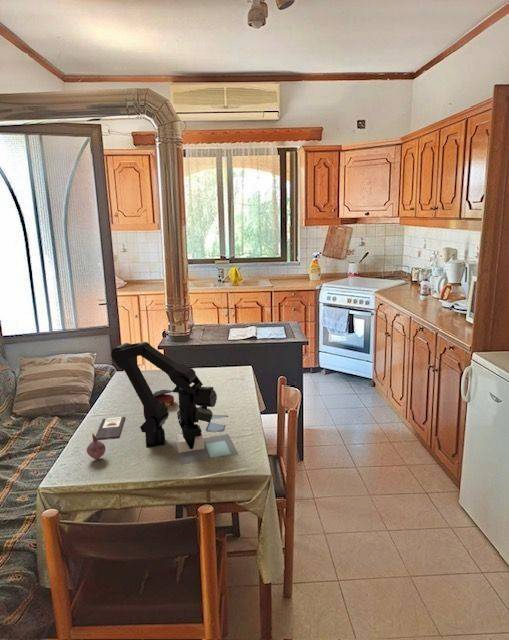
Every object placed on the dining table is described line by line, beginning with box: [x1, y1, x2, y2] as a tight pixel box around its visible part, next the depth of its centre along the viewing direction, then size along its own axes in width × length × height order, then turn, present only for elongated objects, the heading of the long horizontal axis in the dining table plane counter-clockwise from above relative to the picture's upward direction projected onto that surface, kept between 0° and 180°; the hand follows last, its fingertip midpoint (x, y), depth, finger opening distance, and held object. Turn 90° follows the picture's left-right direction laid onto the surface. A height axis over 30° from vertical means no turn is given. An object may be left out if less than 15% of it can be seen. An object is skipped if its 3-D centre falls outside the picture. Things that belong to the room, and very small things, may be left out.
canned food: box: [153, 389, 175, 409], centre depth 207 cm, size 11×10×10 cm
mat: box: [174, 433, 239, 465], centre depth 166 cm, size 20×16×1 cm
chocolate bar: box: [95, 416, 126, 440], centre depth 186 cm, size 9×1×18 cm
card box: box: [175, 432, 205, 453], centre depth 167 cm, size 9×6×4 cm, turn 106°
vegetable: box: [86, 433, 107, 460], centre depth 161 cm, size 6×6×10 cm
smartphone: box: [205, 414, 229, 433], centre depth 186 cm, size 7×1×15 cm
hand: (190, 444), depth 167 cm, fingers closed on card box, 6 cm apart
